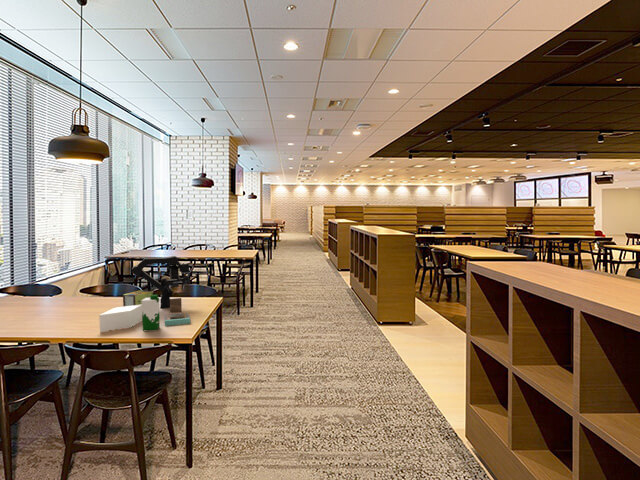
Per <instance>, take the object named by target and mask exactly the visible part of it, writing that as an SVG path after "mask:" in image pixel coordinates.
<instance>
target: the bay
mask: <svg viewBox="0 0 640 480" xmlns="http://www.w3.org/2000/svg"><path fill="white" fill-rule="evenodd" d="M185 315H186V317H184V318H183V319H173V320H170V319H168V317H167V315H164V326H165V327H167V326H176V325H177V326H178V325H186V324H191V318H190V315H189V313H186V314H185Z"/></svg>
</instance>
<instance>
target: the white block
mask: <svg viewBox="0 0 640 480" xmlns="http://www.w3.org/2000/svg"><path fill="white" fill-rule="evenodd" d="M98 317H99V318H98V319H99V333H105V332H110V331H109V330H112V331H116V330H115V329H118V330H122V329H121V328H124V329H129V327H130V328H132V326H133V327H134V326H135V325H136V326H137V324H139V323H141V322H142V304H140V305H133V306H125V307H123V306H119V307H113V308H112V309H109V310H107V311H105V312H103V313H100V314H99V315H98Z"/></svg>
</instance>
